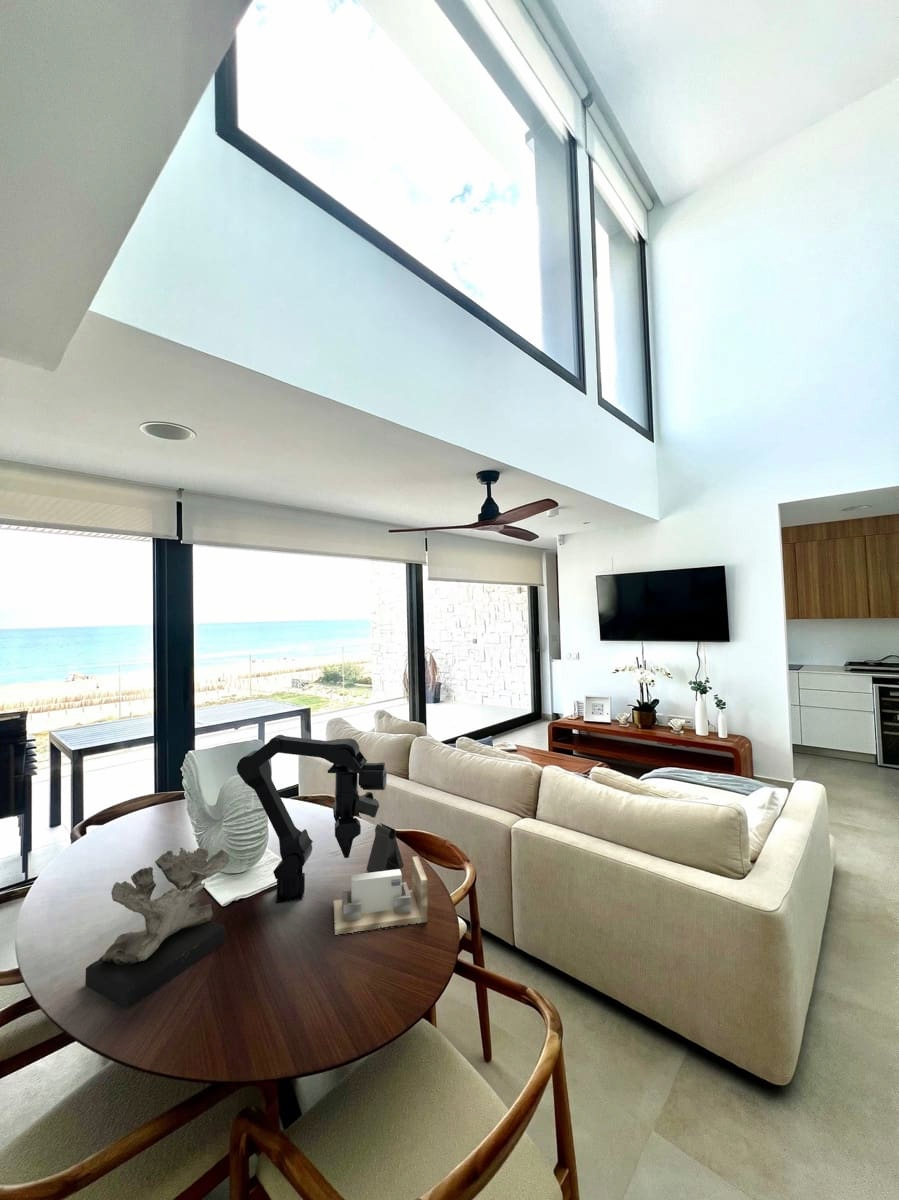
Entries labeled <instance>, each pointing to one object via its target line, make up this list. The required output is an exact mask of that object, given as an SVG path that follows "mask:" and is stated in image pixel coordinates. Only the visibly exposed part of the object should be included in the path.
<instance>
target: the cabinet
mask: <svg viewBox="0 0 899 1200" xmlns="http://www.w3.org/2000/svg"><path fill="white" fill-rule="evenodd" d="M411 861H412V865H411V866H412V867H411V873H412V874H411V889H409V886H408V883H407V881H405V882H402V896H398V897H394V909H392V910H385V911H378V912H371V913H364V914H361V902H354V903H351V888H350V889H344V890H342V892H341V893H342V894H341V895H342V899H335V900H333V918H334V920H333V921H334V923H335V924H334V936H335V935H338V934H345V935H347V934H346V933H352V934H354V933H353V932H357V931H364V930H371V929H376V928H380V927H382V928H383V927H388V926H394V925H404V926H409V925H408V924H411V925H417V924H423V923H428V878H427V874H426V872H425V871H424V867H423V865H422V863H421V861H420V856H417V855H416V856H412V859H411ZM416 923H417V924H416ZM371 931H372V930H371ZM338 936H339V935H338Z"/></svg>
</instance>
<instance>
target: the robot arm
mask: <svg viewBox="0 0 899 1200" xmlns="http://www.w3.org/2000/svg"><path fill="white" fill-rule="evenodd" d="M276 754H285V755H286V754H287V755H294V756H295V755H296V756H305V757H312V758H319V759H323V760H325V761H327V762H329V763H331V764H332V766H330V767H329V769H328V770H327V773H328V774H334V775H335V778H334V779H335V782H334V785H335V787H334V788H335V789H334V799H335V800H334V802H332V813H333V818H334V821H335V822H334V837H335V839H336V841H337V844H338V846H339V848H340V851H341V853H342V855H343V858H344V859H348V858H350V854H351V850H352V845H353V841H354V839H356V837H358V836H359V835H361V831H362V830H361V827H362V826H361V821H360V820H359V818H357V817H359V816H360V814H362V815H366V816H370V818H376V816H377V814H378V810H379V808H380V803H379V800H378V799H377V798H374V793H373V792H371V791H385V790H386V788H387V787H386V785H387V780H388V779H387V776H388V773H387V769H386V767H385V766H386V763H385V762H376V763H375V762H368V760H367V759H366V757H365V756H364V754H363V752H361V751H360V745H359V743H358V742H357V741H356V739H353V738H351V737H350V738H335V739H332V740H331V739H330V740H322V739H321V740H320V739H314V738H313V739H312V738H305V737H296V736H288V735H287V736H286V735H283V734H278V735H275V736H274V737H272V738H271V739H270V740H269V741H268V742H267V743H266V744H264V745H263V746H262V747H261V748H259V749H257V750H256V749H255V750H253V751H250V752H249V753H247V754H245V756H243V757H241V758H240V759H239V761H238V762H237V765H236V772H237V774H238V776H240V778H241V779H242V781H243V782H244V784H246V785H247V786H248V787H250V788H251V789H252V790H254V792H255V794H256V796H257V798H258V800H259V802H260V803H261V806H262V807H263V810H264V812H265V814H266V816H267V818H268V820H269V821H270V823H271V826H272V828H273V830H274V832H275V834H276V836H277V838H278V841H279V844H278V845H279V854H280V858H281V860H280V861H279V863H278V864H277V866H276V867H275V869H274V870H273V872H272V873H273V874H274V879H275V880H276V895H275V896H276V897H275V903H277V904H279V903H280V904H281V903H284V902H285V903H286V902H294V901H301V900H303V895H304V894H305V887H306V886H305V885H306V883H305V881H306V872H304V871H303V867H304V866H305V864H306V863H307V861H308V860H309V858H310V856H311V855H312V852H313V845H312V844H313V842H314V841H313V840H312V839H311V838H310V836H309V833H308V830H307V829H306V828H305V829H303V830H300V829H298V828H297V827H296V825H295V824H294V822H293V819H292V817H291V815H290V813H289V812H288V809H287V808H286V806H285V803H284V802H283V800H282V798H281V796H280V794H279V791H278V790H277V787H276V786H275V783H274V781H273V778H272V767H271V764H270V760H271V759H272V758H273V757H275V755H276ZM358 786H359V787H360V789H362V790H363V791H367V792H365V794H363V795H360V794H359V791H358Z"/></svg>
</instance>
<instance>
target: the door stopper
mask: <svg viewBox="0 0 899 1200" xmlns="http://www.w3.org/2000/svg"><path fill="white" fill-rule="evenodd" d="M374 833H375V834H374V835H375V836H374V840H373V842H372V843H373V844H372V845H371V846H372V847H371V850H370V853H369V858H368V862H367V865H366V871H367V872H368V873H371V872H379V871H388V870H396V869H401V868H403V867H404V865H405V864H404V861H403V858H402V855H401V852H400V851H401V850H400V849H399V844H398V842H397V830H396V829H395V828H393V827H390V826H388V825H386V824H383V823H378V824H376V826H375V828H374Z"/></svg>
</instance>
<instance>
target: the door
mask: <svg viewBox="0 0 899 1200" xmlns="http://www.w3.org/2000/svg"><path fill="white" fill-rule="evenodd" d="M402 874H403V873H402V871H401V868H399V869H396V870H388V871H379V872H365V873H357V874H355V873H354V874H351V882H350V885H351V886H350V889H351V903H354V902H361V914H364V913H371V912H378V911H385V910H392V909H394V897H398V896H402V883H403V882H402V881H403V875H402Z"/></svg>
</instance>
